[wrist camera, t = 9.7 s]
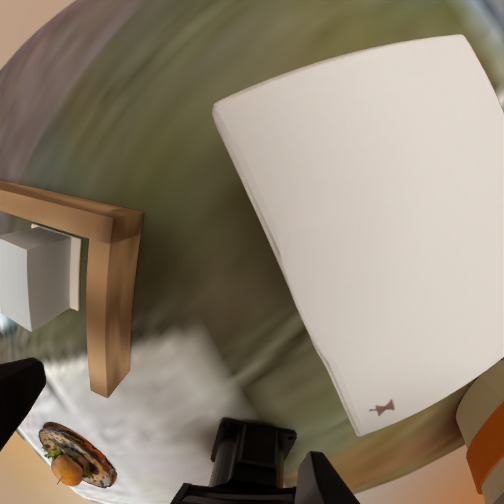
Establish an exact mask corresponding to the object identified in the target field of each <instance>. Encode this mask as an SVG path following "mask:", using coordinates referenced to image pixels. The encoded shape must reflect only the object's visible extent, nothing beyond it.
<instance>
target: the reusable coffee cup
mask: <svg viewBox="0 0 504 504" xmlns="http://www.w3.org/2000/svg"><path fill="white" fill-rule="evenodd" d="M456 421H457V424H458V426H459V429H460V431H461V433H462V436H463V438H464V441H465V444H466V446H467V449H468V451H467V456H466V458H467V461H468V464H469V467H470V470H471V473H472V476H473V479H474V483H475V486H476V489H477V492H478V493H479V494H483V496H484V499H485V503H486V504H504V359H503V360H501V361H499V362H497V363H495V364H494V365H493V366H491V367H490V368H489V369H488V370H486V371H485V372H484V373H482V374H481V375H480V376H479V377H478V378H477V380H476V381H475V382H474V383H473V384H472V385H471V387H470V388H469V389H468V390H467V392H466V394H465V395H464V397H463V398H462V400H461V402H460V404H459V406H458V409H457V413H456Z"/></svg>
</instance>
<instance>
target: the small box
mask: <svg viewBox="0 0 504 504" xmlns="http://www.w3.org/2000/svg"><path fill="white" fill-rule="evenodd" d="M212 116H213V119H214V122H215V124H216V127H217V129H218V131H219V133H220V136H221V138H222V140H223V142H224V144H225V146H226V149H227V151H228V153H229V155H230V157H231V159H232V162H233V164H234V166H235V168H236V170H237V172H238V175H239V177H240V179H241V181H242V183H243V185H244V188H245V190H246V192H247V194H248V196H249V199H250V201H251V203H252V205H253V207H254V210H255V212H256V214H257V216H258V218H259V221H260V223H261V225H262V227H263V230H264V232H265V234H266V236H267V239H268V241H269V243H270V246H271V248H272V250H273V252H274V255H275V257H276V259H277V262H278V264H279V266H280V268H281V271H282V273H283V275H284V278H285V280H286V282H287V285H288V287H289V289H290V292H291V294H292V297H293V299H294V302H295V304H296V307H297V309H298V311H299V314H300V316H301V318H302V320H303V323H304V325H305V327H306V329H307V331H308V333H309V335H310V338H311V341H312V343H313V345H314V347H315V349H316V351H317V353H318V355H319V356H320V358H321V359H322V361H323V363H324V365H325V367H326V369H327V371H328V373H329V375H330V377H331V380H332V382H333V384H334V386H335V389H336V391H337V393H338V395H339V398H340V400H341V402H342V405H343V407H344V409H345V411H346V414H347V416H348V418H349V420H350V422H351V424H352V427H353V429H354V431H355V433H356V435H357V436H363V435H366V434H368V433H371V432H374V431H376V430H379V429H381V428H384V427H386V426H389V425H391V424H394V423H396V422H398V421H401V420H403V419H405V418H407V417H409V416H411V415H413V414H415V413H417V412H419V411H421V410H423V409H425V408H427V407H429V406H431V405H433V404H434V403H436V402H438V401H440V400H441V399H443V398H445V397H447V396H448V395H450V394H451V393H453V392H455V391H456V390H458V389H460V388H461V387H463V386H464V385H466V384H467V383H469V382H470V381H472V380H473V379H475V378H476V377H478V376H479V375H480V374H482V373H483V372H485V371H486V370H488V369H489V368H490V367H491V366H493V365H494V364H495V363H497V362H498V361H499V360H501V359H502V358H503V357H504V111H503V109H502V107H501V104H500V102H499V100H498V98H497V95H496V93H495V91H494V89H493V87H492V85H491V83H490V81H489V79H488V77H487V75H486V73H485V71H484V69H483V67H482V65H481V64H480V62H479V60H478V58H477V56H476V55H475V53H474V51H473V49H472V48H471V46H470V44H469V43H468V41H467V39H466V38H465V36H463V35H450V36H441V37H432V38H424V39H417V40H411V41H404V42H399V43H393V44H388V45H383V46H378V47H374V48H369V49H365V50H361V51H357V52H353V53H349V54H345V55H341V56H338V57H334V58H331V59H327V60H324V61H321V62H318V63H314V64H311V65H308V66H305V67H302V68H299V69H296V70H293V71H290V72H288V73H285V74H282V75H279V76H277V77H274V78H271V79H269V80H266V81H264V82H261V83H259V84H256V85H254V86H251V87H249V88H247V89H244V90H242V91H240V92H237V93H235V94H233V95H230V96H228V97H226V98H224V99H222V100H219V101H217V102H216V103H215V104H214V105H213V109H212Z"/></svg>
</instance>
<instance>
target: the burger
mask: <svg viewBox="0 0 504 504" xmlns="http://www.w3.org/2000/svg"><path fill="white" fill-rule="evenodd" d="M39 438H40V441H41V443H42V445H43V446H44V447H42V448H43V449H44V451H46V452H48V454H47V455H49V456H48V458H50V457H52V458H53V459H52V460H53V461H52V463H51V468H52V471H53V473H54V475H55V476H56V477H57V478H58V479H59V481H61V482H62V483H64V484H66V485H68V486H77V485H78V484H80V482H81V481H82V480H83V481H85V482H87V483H89V484H92V485H95V486H98V487H101V488H107V487H111V486H112V485H113V484H114V482H115V480H116V476H117V472H115V469H112V468H111V465H108V463H107V462H106V457H105V456H104V455H103V454H102V453H101V452H100V451H99V450H96V449H93V448H92V446H91V445H92V444H91V443H90V442H88V441H87V440H86V439H84V438H83V437H81V436H80V435H78V434H77V433H75V432H74V431H72V430H70V429H68V428H66V427H64V426H62V425H60V424H57V423H53V422H47V423H45V424H44V426H43V429H41V430H40V431H39ZM47 455H45V457H47Z"/></svg>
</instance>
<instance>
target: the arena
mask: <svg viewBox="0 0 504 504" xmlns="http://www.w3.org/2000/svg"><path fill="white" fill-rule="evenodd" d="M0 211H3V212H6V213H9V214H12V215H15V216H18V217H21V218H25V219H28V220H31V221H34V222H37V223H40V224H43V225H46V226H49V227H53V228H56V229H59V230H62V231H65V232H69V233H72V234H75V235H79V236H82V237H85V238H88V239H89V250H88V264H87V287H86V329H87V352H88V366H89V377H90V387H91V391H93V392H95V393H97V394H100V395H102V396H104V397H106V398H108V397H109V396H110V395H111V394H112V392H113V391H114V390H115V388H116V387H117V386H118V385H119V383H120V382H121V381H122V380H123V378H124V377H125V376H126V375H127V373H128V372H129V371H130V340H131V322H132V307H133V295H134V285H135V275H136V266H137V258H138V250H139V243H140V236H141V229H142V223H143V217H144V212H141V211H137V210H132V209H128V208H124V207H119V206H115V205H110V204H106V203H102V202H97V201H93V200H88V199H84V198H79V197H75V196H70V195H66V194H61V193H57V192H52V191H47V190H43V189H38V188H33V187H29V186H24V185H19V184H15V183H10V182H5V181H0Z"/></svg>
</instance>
